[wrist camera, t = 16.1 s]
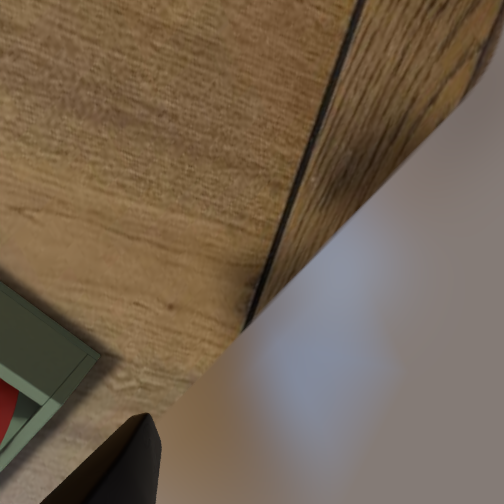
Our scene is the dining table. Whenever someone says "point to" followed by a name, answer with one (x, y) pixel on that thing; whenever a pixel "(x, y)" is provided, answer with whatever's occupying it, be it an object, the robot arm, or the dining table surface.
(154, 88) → the dining table surface
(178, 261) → the dining table surface
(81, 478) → the robot arm
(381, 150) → the dining table surface
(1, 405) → the can
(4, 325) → the bin
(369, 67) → the dining table surface
